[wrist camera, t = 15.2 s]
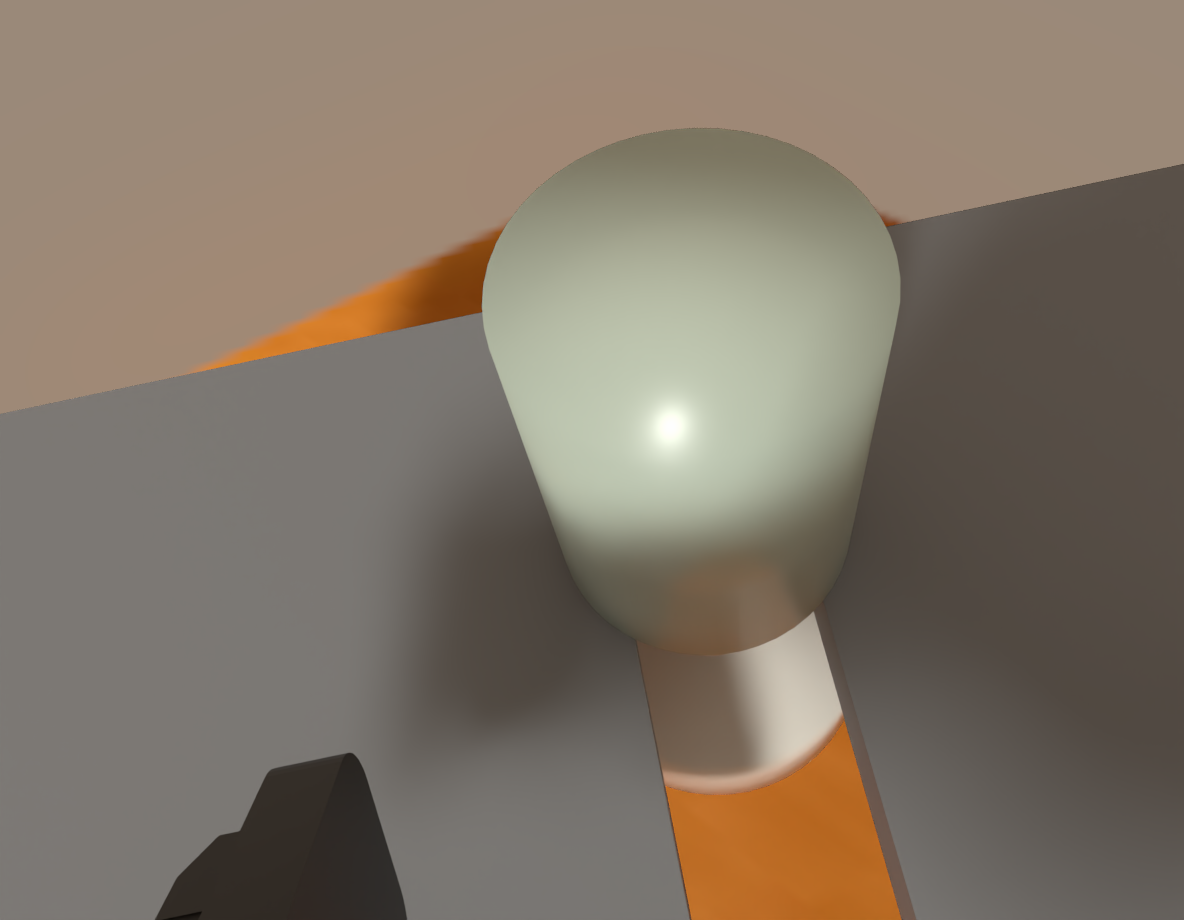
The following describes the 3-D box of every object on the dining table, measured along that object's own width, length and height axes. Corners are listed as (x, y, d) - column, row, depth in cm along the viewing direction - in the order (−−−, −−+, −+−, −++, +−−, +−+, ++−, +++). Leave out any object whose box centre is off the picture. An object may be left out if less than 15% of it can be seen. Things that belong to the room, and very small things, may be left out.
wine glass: (599, 824, 18) (452, 590, 9) (549, 551, 20) (393, 147, 11) (898, 758, 18) (1062, 454, 9) (811, 492, 20) (869, 38, 11)
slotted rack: (283, 1129, 21) (-95, 1196, 12) (271, 647, 26) (-1, 413, 17) (1303, 933, 21) (1786, 833, 11) (1097, 479, 26) (1310, 137, 16)
